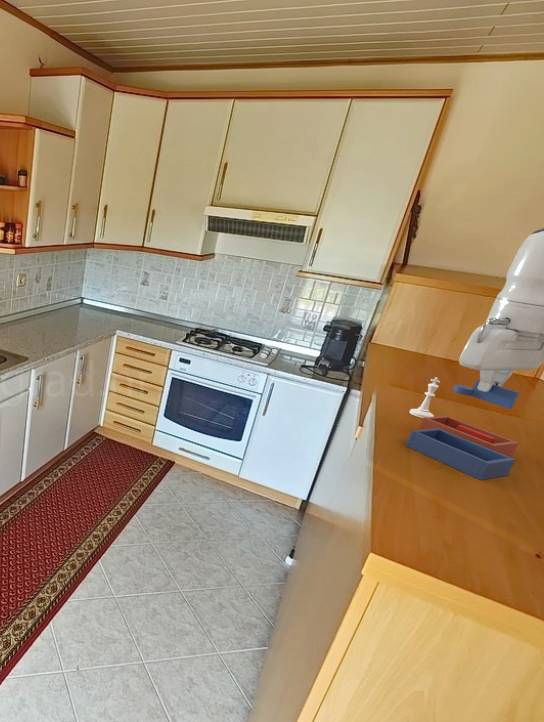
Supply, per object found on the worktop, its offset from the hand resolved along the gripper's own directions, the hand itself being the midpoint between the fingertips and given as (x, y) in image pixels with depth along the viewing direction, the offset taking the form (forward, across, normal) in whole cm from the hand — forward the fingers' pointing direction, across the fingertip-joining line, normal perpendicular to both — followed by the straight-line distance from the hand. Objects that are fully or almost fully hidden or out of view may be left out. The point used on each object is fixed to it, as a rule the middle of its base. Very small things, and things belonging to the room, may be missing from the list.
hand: (487, 390), depth 92 cm
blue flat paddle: (+2, 0, +1) cm, 2 cm away
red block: (+14, +11, +6) cm, 19 cm away
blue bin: (+15, -1, 0) cm, 15 cm away
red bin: (+15, +11, +5) cm, 19 cm away
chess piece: (+15, +20, +19) cm, 31 cm away
